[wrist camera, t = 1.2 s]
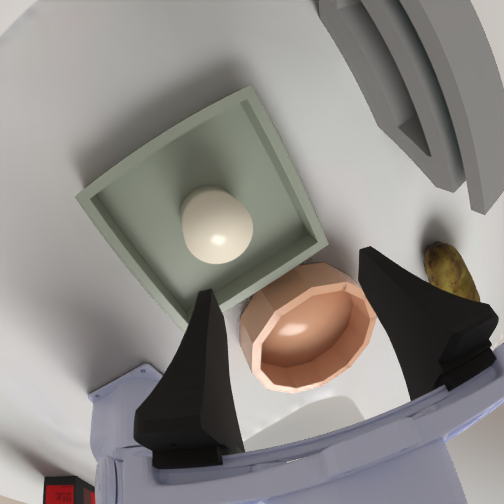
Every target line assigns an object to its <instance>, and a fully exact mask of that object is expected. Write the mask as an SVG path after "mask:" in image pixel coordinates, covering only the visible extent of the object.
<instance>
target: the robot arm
mask: <svg viewBox="0 0 504 504" xmlns="http://www.w3.org/2000/svg"><path fill="white" fill-rule="evenodd" d="M358 281H359V283H360V285H361V288H362V290H363V292H364V294H365V297H366V298H367V300H368V302H369V303H370V305H371V307H372V308H373V310H374V312H375V313H376V315H377V317H378V319H379V320H380V322H381V324H382V325H383V327H384V329H385V330H386V332H387V334H388V336H389V338H390V341H391V343H392V345H393V348H394V350H395V353H396V355H397V358H398V361H399V363H400V366H401V369H402V372H403V375H404V378H405V381H406V385H407V388H408V392H409V396H410V399H411V401H410V402H408V403H406V404H404V405H402V406H399V407H397V408H395V409H392V410H390V411H388V412H385V413H383V414H380V415H378V416H375V417H373V418H370V419H367V420H365V421H362V422H359V423H356V424H354V425H351V426H348V427H345V428H342V429H339V430H336V431H332V432H329V433H326V434H323V435H319V436H316V437H312V438H308V439H305V440H301V441H297V442H293V443H289V444H285V445H281V446H276V447H271V448H266V449H261V450H256V451H250V452H245V449H244V445H243V441H242V437H241V433H240V429H239V425H238V420H237V416H236V411H235V406H234V401H233V395H232V390H231V384H230V376H229V361H228V344H227V333H226V327H225V321H224V316H223V314H222V312H221V309H220V307H219V304H218V302H217V300H216V297H215V295H214V292H213V290H212V288H211V289H207V290H203V291H199V293H198V295H197V299H196V302H195V306H194V309H193V312H192V315H191V318H190V321H189V324H188V327H187V329H186V332H185V334H184V336H183V339H182V341H181V344H180V346H179V348H178V350H177V352H176V354H175V356H174V358H173V360H172V362H171V363H170V365H169V367H168V368H167V370H166V372H165V373H164V375H161V374H160V373H159V372H158V371H157V370H156V369H155V368H153V367H152V366H151V365H150V364H143V365H141V366H139V367H138V368H136V369H134V370H132V371H131V372H129V373H127V374H125V375H123V376H122V377H120V378H118V379H116V380H114V381H113V382H111V383H109V384H107V385H105V386H104V387H102V388H100V389H98V390H96V391H94V392H93V393H91V394H89V395H88V399H89V400H90V401H91V402H93V411H92V422H91V435H90V445H91V450H92V453H93V455H94V457H95V459H96V461H97V462H98V464H97V468H96V476H95V503H96V504H468V503H467V500H466V498H465V495H464V492H463V489H462V486H461V483H460V481H459V478H458V475H457V472H456V470H455V468H454V465H453V462H452V460H451V457H450V455H449V452H448V450H447V447H446V445H445V442H447V441H448V440H450V439H452V438H453V437H455V436H457V435H458V434H460V433H461V432H463V431H464V430H466V429H467V428H469V427H470V426H472V425H473V424H475V423H476V422H477V421H479V420H480V419H482V418H483V417H485V416H486V415H487V414H489V413H490V412H491V411H493V410H494V409H495V408H497V407H498V406H499V405H501V404H502V403H503V402H504V343H502V344H501V345H499V346H498V347H497V348H496V349H495V350H494V351H493V352H492V350H491V349H490V347H491V345H492V343H491V342H490V340H489V338H490V336H491V335H492V333H493V331H494V330H495V328H496V326H497V324H498V320H499V318H498V316H497V314H496V313H495V312H494V310H493V309H492V308H491V306H490V305H489V304H486V303H481V302H477V301H473V300H469V299H466V298H463V297H460V296H457V295H454V294H452V293H449V292H447V291H444V290H442V289H440V288H438V287H436V286H434V285H432V284H430V283H428V282H426V281H424V280H422V279H420V278H418V277H417V276H415V275H413V274H412V273H410V272H408V271H407V270H405V269H404V268H402V267H401V266H399V265H398V264H396V263H395V262H393V261H392V260H390V259H389V258H387V257H386V256H384V255H383V254H381V253H380V252H379V251H377V250H376V249H374V248H373V247H371V246H370V247H366V248H363V249H360V251H359V274H358ZM143 370H144V371H143ZM311 455H312V456H311ZM308 456H309V457H308ZM304 457H306V458H304ZM299 458H302V459H299ZM296 459H299V460H296ZM291 460H296V461H293V462H290V463H287V461H291Z"/></svg>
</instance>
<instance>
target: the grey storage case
mask: <svg viewBox="0 0 504 504" xmlns="http://www.w3.org/2000/svg"><path fill="white" fill-rule="evenodd" d="M319 15H320V20H321V21H322V23H323V24H324V26H325V27H326V29H327V31H328V32H329V34H330V35H331V37H332V39H333V40H334V42H335V44H336V45H337V47H338V49H339V50H340V52H341V54H342V55H343V57H344V59H345V61H346V63H347V64H348V66H349V68H350V70H351V72H352V74H353V75H354V77H355V79H356V81H357V83H358V85H359V87H360V89H361V91H362V93H363V95H364V97H365V99H366V101H367V103H368V105H369V108H370V110H371V112H372V114H373V116H374V118H375V121H376V123H377V125H378V127H379V128H380V129H382V130H383V131H384V132H385V133H386V134H387V135H388V136H389V137H390V138H391V139H392V140H393V141H394V142H395V143H396V144H397V145H398V146H399V147H400V148H401V149H402V150H403V151H404V152H405V153H406V154H407V155H408V156H409V157H410V158H411V160H412V161H413V162H414V163H415V164H416V165H417V166H418V167H419V168H420V169H421V170H422V171H423V173H424V174H425V175H426V176H427V177H428V178H429V179H430V181H431V182H432V183H433V184H434V185H435V186H436V187H438V188H441V189H444V190H447V191H450V192H453V193H454V192H455V191H456V190H457V189H458V188H459V187H460V186H461V185H462V184H463V183H464V182H465V181H467V187H468V193H469V199H470V206H471V210H474V211H476V212H478V213H481V214H483V215H485V214H486V213H487V212H488V211H489V209H490V208H491V207H492V206H493V204H494V203H495V202H496V200H497V199H498V198H499V196H500V195H501V194H502V192H503V191H504V88H503V84H502V81H501V78H500V74H499V71H498V68H497V64H496V61H495V58H494V56H493V53H492V50H491V47H490V45H489V42H488V40H487V37H486V34H485V32H484V30H483V27H482V25H481V22H480V20H479V18H478V16H477V14H476V11H475V9H474V7H473V5H472V3H471V1H470V0H319Z"/></svg>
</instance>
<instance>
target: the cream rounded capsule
mask: <svg viewBox="0 0 504 504" xmlns="http://www.w3.org/2000/svg"><path fill="white" fill-rule="evenodd" d="M180 221H181V226H182V230H183V235H184V239H185V243H186V245H187V247H188V249H189V251H190V252H191V253H192V254H193V255H194V256H195V257H196V258H198V259H199V260H201V261H203V262H206V263H210V264H222V263H227V262H229V261H232V260H234V259H236V258H237V257H238V256H240V255H241V254H242V253H243V252H244V251H245V250H246V248H247V247H248V245H249V243H250V241H251V238H252V234H253V222H252V219H251V216H250V214H249V212H248V211H247V209H246V208H245V207H244V206H243V205H242V204H241V203H240V202H239V201H238V200H236V199H235V198H234V197H233V196H232V195H231V194H230V193H229V192H227V191H226V190H225V189H223V188H221V187H219V186H215V185H204V186H200V187H198V188H196V189H194V190H192V191H191V192H190V193H189V194H188V195H187V196H186V197H185V198H184V200H183V202H182V204H181V207H180Z"/></svg>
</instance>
